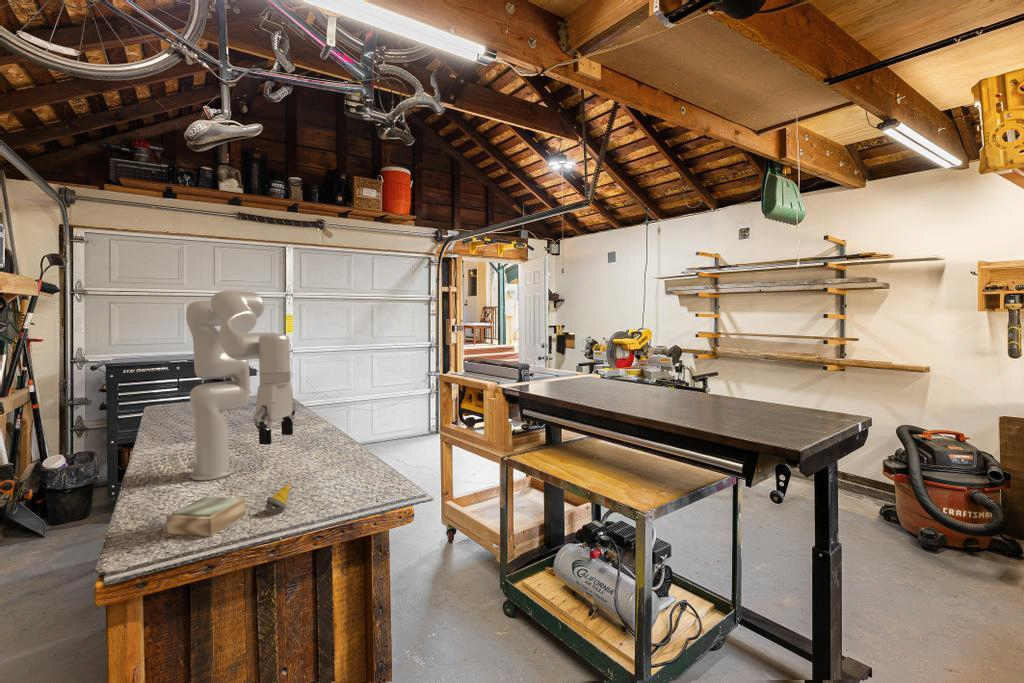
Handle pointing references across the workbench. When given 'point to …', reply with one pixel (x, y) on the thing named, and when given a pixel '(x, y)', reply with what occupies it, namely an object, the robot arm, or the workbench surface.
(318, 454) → the workbench surface
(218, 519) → the base block
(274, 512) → the drill bit
